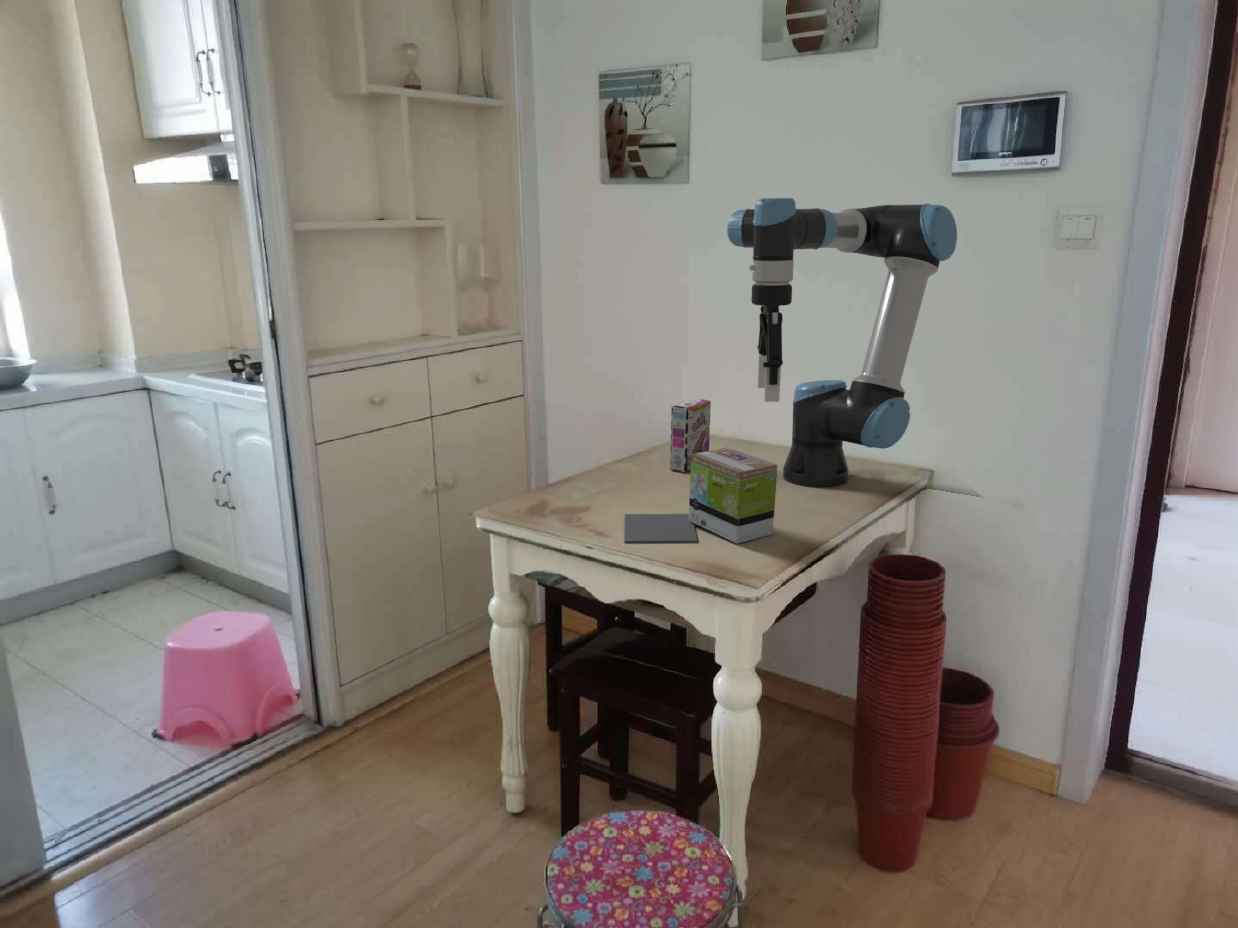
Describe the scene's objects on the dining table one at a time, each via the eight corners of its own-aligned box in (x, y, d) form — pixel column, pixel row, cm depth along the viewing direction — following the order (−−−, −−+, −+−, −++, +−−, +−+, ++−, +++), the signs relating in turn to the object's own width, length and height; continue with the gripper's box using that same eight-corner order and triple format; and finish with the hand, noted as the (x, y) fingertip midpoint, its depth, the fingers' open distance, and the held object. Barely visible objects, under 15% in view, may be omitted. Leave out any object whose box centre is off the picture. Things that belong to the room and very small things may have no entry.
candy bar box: (687, 474, 220) (687, 407, 216) (669, 471, 223) (669, 405, 219) (710, 463, 229) (711, 399, 225) (693, 460, 232) (694, 397, 228)
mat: (691, 515, 191) (691, 513, 190) (697, 542, 175) (697, 540, 175) (624, 515, 191) (624, 514, 191) (624, 542, 175) (624, 540, 175)
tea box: (686, 522, 185) (689, 452, 181) (723, 514, 190) (727, 445, 186) (736, 545, 173) (740, 470, 169) (774, 535, 179) (779, 462, 175)
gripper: (746, 278, 184) (743, 382, 189) (758, 288, 160) (754, 407, 165) (784, 278, 183) (780, 382, 189) (801, 288, 159) (796, 407, 165)
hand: (768, 394), depth 177 cm, fingers open, 13 cm apart
